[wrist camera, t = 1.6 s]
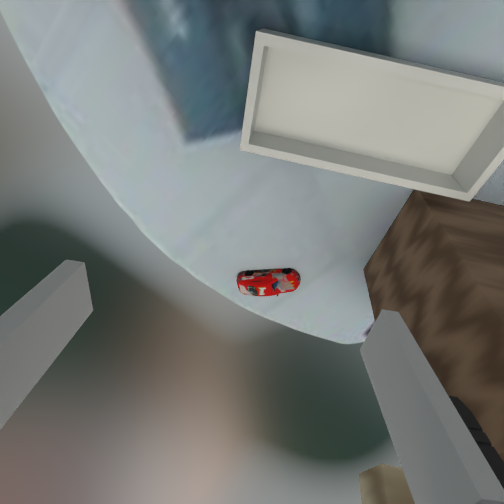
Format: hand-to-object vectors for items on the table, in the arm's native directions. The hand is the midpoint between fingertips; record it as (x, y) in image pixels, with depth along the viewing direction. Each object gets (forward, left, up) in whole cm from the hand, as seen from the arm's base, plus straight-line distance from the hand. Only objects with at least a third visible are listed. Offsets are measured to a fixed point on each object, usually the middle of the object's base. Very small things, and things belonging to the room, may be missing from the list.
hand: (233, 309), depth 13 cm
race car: (+32, +5, -33) cm, 46 cm away
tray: (-2, +11, -33) cm, 35 cm away
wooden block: (+15, +30, -33) cm, 47 cm away
